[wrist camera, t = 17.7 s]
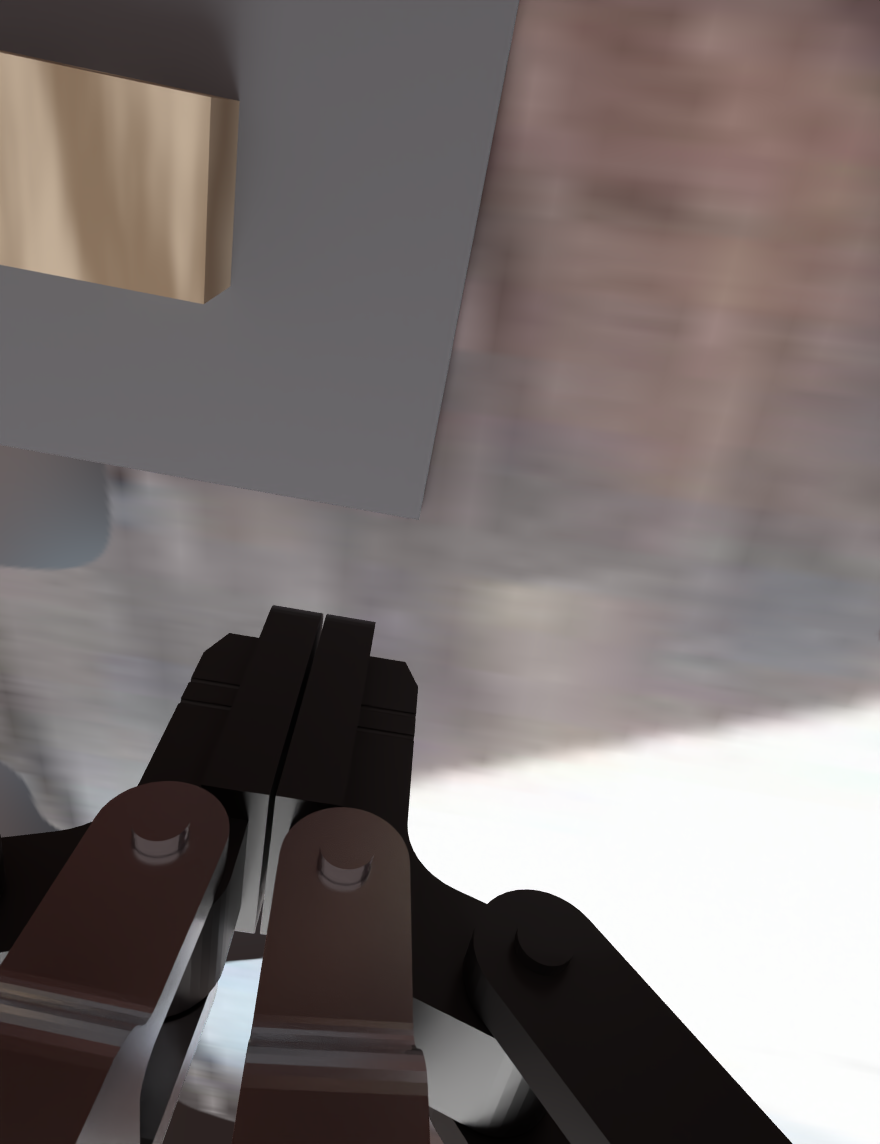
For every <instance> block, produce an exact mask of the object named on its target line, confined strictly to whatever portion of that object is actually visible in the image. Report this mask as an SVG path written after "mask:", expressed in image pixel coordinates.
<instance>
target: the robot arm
mask: <svg viewBox="0 0 880 1144" xmlns="http://www.w3.org/2000/svg"><path fill="white" fill-rule="evenodd" d="M375 623H376V622H371V621H365V620H359V619H353V618H347V617H341V616H335V615H329V614H327V615H326V618H325V621H324V625H323V628H322V624H323V614H322V613H317V612H311V611H305V610H299V609H293V608H287V607H281V606H275V605H273V606H272V608H271V610H270V612H269V615H268V617H267V620H266V622H265V625H264V627H263V630H262V632H261V635H260V637H259V638H256V637H250V636H244V635H238V634H232V633H229V634H227V635H226V636H225V637H223V638H222V639H221V640H219V641H218V642H217V643H215V644H214V645H213V646H211V647H210V648H209V649H207V650H206V651H205V652H204V653H203V655H202V657H201V659H200V661H199V663H198V665H197V667H196V669H195V671H194V673H193V675H192V677H191V682H189V683H188V685H187V687H186V689H185V691H184V693H183V695H182V697H181V702H180V704H178V706H177V708H176V710H175V712H174V714H173V716H172V718H171V720H170V722H169V724H168V726H167V728H166V730H165V732H164V734H163V736H162V738H161V740H160V742H159V744H158V746H157V748H156V750H155V752H154V754H153V756H152V758H151V760H150V762H149V764H148V766H147V768H146V770H145V772H144V774H143V776H142V778H141V780H140V782H139V784H138V786H137V787H134V788H131V789H129V790H127V791H125V792H123V793H121V794H119V795H118V796H116V797H115V798H113V799H112V800H110V801H109V802H108V803H107V804H106V805H105V806H104V807H103V808H102V809H101V810H100V812H99V813H98V814H97V816H96V817H95V818H94V820H93V822H90V823H88V824H85V825H82V826H79V827H75V828H71V829H67V830H61V831H55V832H46V833H38V834H30V835H21V836H13V837H3V838H1V836H0V1144H162V1141H163V1139H164V1136H165V1133H166V1130H167V1128H168V1125H169V1122H170V1120H171V1117H172V1114H173V1111H174V1109H175V1106H176V1103H177V1100H178V1098H179V1095H180V1092H181V1090H182V1087H183V1084H184V1081H185V1079H186V1076H187V1073H188V1070H189V1068H190V1065H191V1062H192V1059H193V1057H194V1054H195V1051H196V1049H197V1046H198V1043H199V1040H200V1038H201V1035H202V1032H203V1029H204V1027H205V1024H206V1021H207V1018H208V1016H209V1013H210V1010H211V1008H212V1005H213V1002H214V999H215V996H216V992H217V985H218V980H219V978H220V976H221V974H222V971H223V968H224V965H225V961H226V958H227V954H228V950H229V947H230V944H231V940H232V937H233V933H234V931H241V932H247V933H255V929H256V925H257V921H258V917H259V913H260V910H261V906H262V902H263V898H264V904H263V913H262V921H261V930H260V934H265V935H266V942H265V948H264V954H263V961H262V967H261V973H260V980H259V986H258V992H257V999H256V1005H255V1012H254V1018H253V1024H252V1030H251V1036H250V1040H249V1042H248V1047H247V1053H246V1059H245V1064H244V1071H243V1077H242V1083H241V1089H240V1095H239V1102H238V1108H237V1114H236V1120H235V1127H234V1133H233V1139H232V1144H430V1130H429V1117H430V1120H431V1122H432V1124H433V1126H434V1128H435V1130H436V1131H437V1133H438V1135H439V1136H440V1138H441V1140H442V1141H443V1143H444V1144H792V1143H791V1142H790V1140H789V1139H788V1138H787V1137H786V1136H785V1135H784V1134H783V1133H782V1132H781V1130H780V1129H779V1128H778V1127H777V1126H776V1125H775V1124H774V1123H773V1122H772V1121H771V1119H770V1118H769V1117H768V1116H767V1115H766V1114H765V1113H764V1112H763V1111H762V1110H761V1108H760V1107H759V1106H758V1105H757V1104H756V1103H755V1102H754V1101H753V1100H752V1099H751V1097H750V1096H749V1095H748V1094H747V1093H746V1092H745V1091H744V1090H743V1089H742V1088H741V1086H740V1085H739V1084H738V1083H737V1082H736V1081H735V1080H734V1079H733V1078H732V1077H731V1075H730V1074H729V1073H728V1072H727V1071H726V1070H725V1069H724V1068H723V1067H722V1066H721V1064H720V1063H719V1062H718V1061H717V1060H716V1059H715V1058H714V1057H713V1056H712V1055H711V1053H710V1052H709V1051H708V1050H707V1049H706V1048H705V1047H704V1046H703V1045H702V1044H701V1042H700V1041H699V1040H698V1039H697V1038H696V1037H695V1036H694V1035H693V1034H692V1032H691V1031H690V1030H689V1029H688V1028H687V1027H686V1026H685V1025H684V1024H683V1023H682V1021H681V1020H680V1019H679V1018H678V1017H677V1016H676V1015H675V1014H674V1013H673V1012H672V1010H671V1009H670V1008H669V1007H668V1006H667V1005H666V1004H665V1003H664V1002H663V1001H662V999H661V998H660V997H659V996H658V995H657V994H656V993H655V992H654V991H653V990H652V988H651V987H650V986H649V985H648V984H647V983H646V982H645V981H644V980H643V979H642V977H641V976H640V975H639V974H638V973H637V972H636V971H635V970H634V969H633V968H632V966H631V965H630V964H629V963H628V962H627V961H626V960H625V959H624V958H623V957H622V955H621V954H620V953H619V952H618V951H617V950H616V949H615V948H614V947H613V946H612V944H611V943H610V942H609V941H608V940H607V939H606V938H605V937H604V936H603V934H602V933H601V932H600V931H599V930H598V929H597V928H596V927H595V926H594V925H593V923H592V922H591V921H590V920H589V919H588V918H587V917H586V916H585V915H584V914H583V913H582V912H581V911H580V910H578V909H577V908H576V907H574V906H573V905H571V904H570V903H568V902H567V901H565V900H563V899H561V898H559V897H557V896H554V895H552V894H549V893H546V892H542V891H537V890H515V891H510V892H506V893H504V894H502V895H499V896H497V897H496V898H494V899H493V900H491V901H490V902H489V903H488V904H486V903H483V902H481V901H479V900H477V899H475V898H473V897H470V896H468V895H466V894H464V893H462V892H460V891H457V890H455V889H453V888H452V887H450V886H448V885H446V884H444V883H443V882H441V881H440V880H439V879H437V878H436V877H435V876H433V875H432V874H431V873H430V872H429V871H428V870H427V869H426V868H425V867H424V866H423V864H422V863H421V862H420V861H419V859H418V858H417V856H416V854H415V852H414V851H413V848H412V846H411V843H410V841H409V836H408V825H407V822H408V809H409V797H410V784H411V771H412V758H413V745H414V741H413V740H414V733H415V720H416V718H415V716H416V707H417V694H418V686H417V684H416V682H415V680H414V678H413V676H412V674H411V672H410V670H409V668H408V666H407V664H406V662H401V661H395V660H389V659H383V658H377V657H371V656H370V651H371V646H372V640H373V634H374V629H375ZM264 894H265V895H264Z"/></svg>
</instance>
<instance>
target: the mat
mask: <svg viewBox="0 0 880 1144" xmlns="http://www.w3.org/2000/svg"><path fill="white" fill-rule="evenodd" d="M518 4H519V0H0V50H2V51H7V52H12V53H16V54H21V55H26V56H30V57H35V58H40V59H44V60H49V61H54V62H59V63H63V64H68V65H73V66H77V67H82V68H87V69H91V70H96V71H101V72H105V73H110V74H115V75H120V76H124V77H129V78H134V79H138V80H143V81H148V82H152V83H157V84H162V85H166V86H171V87H176V88H181V89H185V90H190V91H195V92H199V93H204V94H209V95H213V96H218V97H223V98H227V99H232V100H237V101H240V103H239V123H238V143H237V163H236V183H235V203H234V223H233V243H232V263H231V283H230V287H229V288H227V289H226V290H224V291H223V292H221V293H220V294H218V295H217V296H215V297H214V298H212V299H211V300H209V301H208V302H206V303H205V304H200V303H195V302H190V301H185V300H179V299H174V298H169V297H164V296H159V295H154V294H149V293H143V292H138V291H133V290H128V289H123V288H118V287H113V286H107V285H102V284H97V283H92V282H87V281H82V280H76V279H71V278H66V277H61V276H56V275H51V274H46V273H40V272H35V271H30V270H25V269H20V268H15V267H10V266H4V265H0V445H4V446H9V447H15V448H20V449H26V450H32V451H37V452H43V453H48V454H54V455H59V456H65V457H70V458H76V459H81V460H87V461H93V462H99V463H104V464H109V465H115V466H120V467H126V468H132V469H137V470H143V471H148V472H154V473H159V474H165V475H171V476H176V477H182V478H187V479H193V480H198V481H204V482H210V483H215V484H221V485H226V486H232V487H237V488H243V489H249V490H254V491H260V492H265V493H271V494H276V495H282V496H288V497H293V498H299V499H304V500H310V501H315V502H321V503H327V504H332V505H338V506H343V507H349V508H354V509H360V510H366V511H371V512H377V513H382V514H388V515H393V516H399V517H405V518H410V519H416V520H419V517H420V512H421V506H422V501H423V496H424V491H425V486H426V481H427V475H428V470H429V465H430V460H431V455H432V450H433V444H434V439H435V434H436V429H437V424H438V418H439V413H440V408H441V403H442V398H443V393H444V387H445V382H446V377H447V372H448V367H449V362H450V356H451V351H452V346H453V341H454V336H455V331H456V325H457V320H458V315H459V310H460V305H461V299H462V294H463V289H464V284H465V279H466V274H467V268H468V263H469V258H470V253H471V248H472V243H473V237H474V232H475V227H476V222H477V217H478V211H479V206H480V201H481V196H482V191H483V186H484V180H485V175H486V170H487V165H488V160H489V155H490V149H491V144H492V139H493V134H494V129H495V124H496V118H497V113H498V108H499V103H500V98H501V92H502V87H503V82H504V77H505V72H506V67H507V61H508V56H509V51H510V46H511V41H512V36H513V30H514V25H515V20H516V15H517V10H518Z"/></svg>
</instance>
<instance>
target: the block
mask: <svg viewBox="0 0 880 1144" xmlns="http://www.w3.org/2000/svg"><path fill="white" fill-rule="evenodd" d="M239 103H240V101H237V100H232V99H227V98H223V97H218V96H213V95H209V94H204V93H199V92H195V91H190V90H185V89H181V88H176V87H171V86H166V85H162V84H157V83H152V82H148V81H143V80H138V79H134V78H129V77H124V76H120V75H115V74H110V73H105V72H101V71H96V70H91V69H87V68H82V67H77V66H73V65H68V64H63V63H59V62H54V61H49V60H44V59H40V58H35V57H30V56H26V55H21V54H16V53H12V52H7V51H2V50H0V265H4V266H10V267H15V268H20V269H25V270H30V271H35V272H40V273H46V274H51V275H56V276H61V277H66V278H71V279H76V280H82V281H87V282H92V283H97V284H102V285H107V286H113V287H118V288H123V289H128V290H133V291H138V292H143V293H149V294H154V295H159V296H164V297H169V298H174V299H179V300H185V301H190V302H195V303H200V304H205V303H206V302H208V301H209V300H211V299H212V298H214V297H215V296H217V295H218V294H220V293H221V292H223V291H224V290H226V289H227V288H229V287H230V283H231V263H232V243H233V223H234V203H235V183H236V163H237V143H238V123H239Z"/></svg>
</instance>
